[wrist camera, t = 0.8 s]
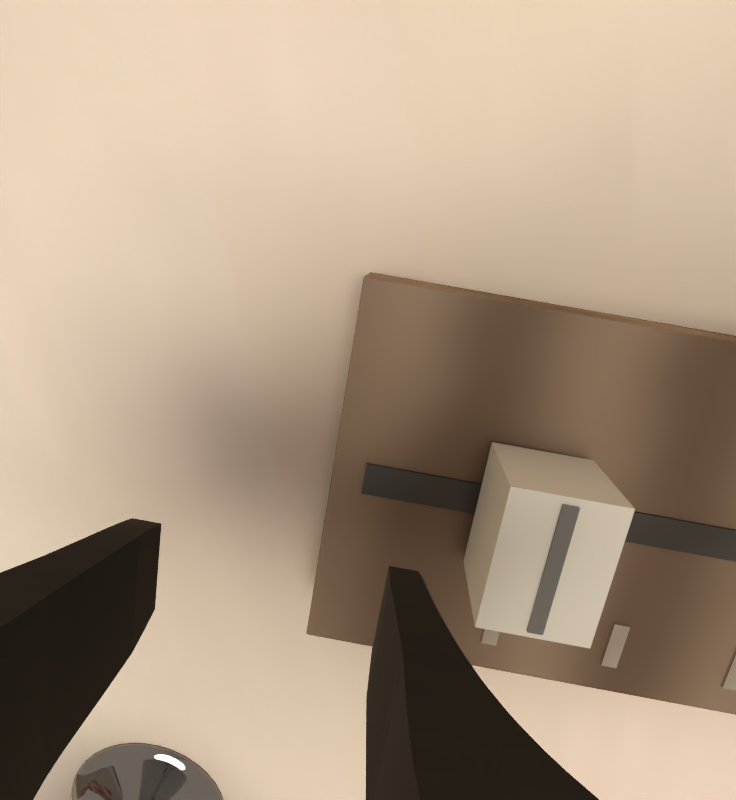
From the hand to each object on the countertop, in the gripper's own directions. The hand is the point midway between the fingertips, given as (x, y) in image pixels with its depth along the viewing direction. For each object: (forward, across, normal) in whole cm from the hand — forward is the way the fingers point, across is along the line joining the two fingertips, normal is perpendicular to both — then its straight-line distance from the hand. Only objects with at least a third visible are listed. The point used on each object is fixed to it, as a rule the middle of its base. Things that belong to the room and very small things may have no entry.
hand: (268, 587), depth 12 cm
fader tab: (+6, -6, 0) cm, 9 cm away
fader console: (+9, -12, 0) cm, 15 cm away
